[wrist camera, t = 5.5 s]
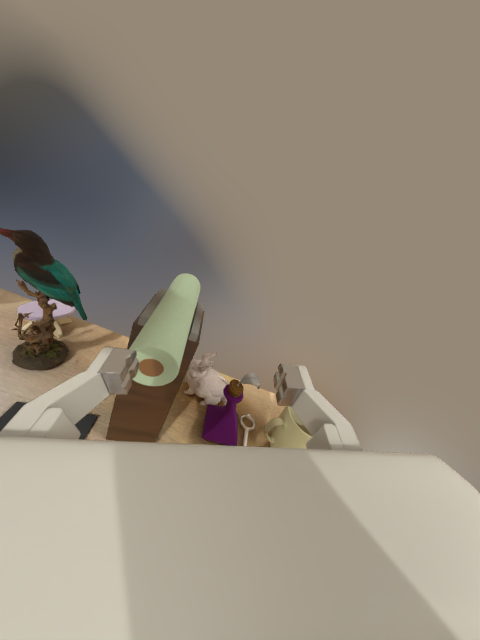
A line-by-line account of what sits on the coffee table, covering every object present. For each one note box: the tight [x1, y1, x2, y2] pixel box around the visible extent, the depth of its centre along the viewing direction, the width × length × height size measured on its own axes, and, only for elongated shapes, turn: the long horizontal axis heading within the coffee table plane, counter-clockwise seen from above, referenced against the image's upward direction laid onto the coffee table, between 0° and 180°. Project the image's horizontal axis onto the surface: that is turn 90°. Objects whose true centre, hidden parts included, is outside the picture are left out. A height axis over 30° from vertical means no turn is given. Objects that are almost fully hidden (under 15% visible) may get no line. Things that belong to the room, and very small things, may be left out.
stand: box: [106, 289, 204, 443], centre depth 33 cm, size 9×8×26 cm
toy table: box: [17, 299, 75, 338], centre depth 45 cm, size 10×9×6 cm
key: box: [239, 414, 255, 446], centre depth 44 cm, size 12×1×4 cm
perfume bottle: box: [202, 373, 260, 446], centre depth 39 cm, size 8×8×18 cm
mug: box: [264, 406, 312, 449], centre depth 43 cm, size 11×10×12 cm
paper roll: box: [129, 273, 200, 386], centre depth 24 cm, size 19×4×4 cm, turn 5°
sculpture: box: [0, 228, 87, 370], centre depth 34 cm, size 8×14×25 cm, turn 102°
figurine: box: [184, 353, 229, 406], centre depth 47 cm, size 8×15×13 cm, turn 91°
